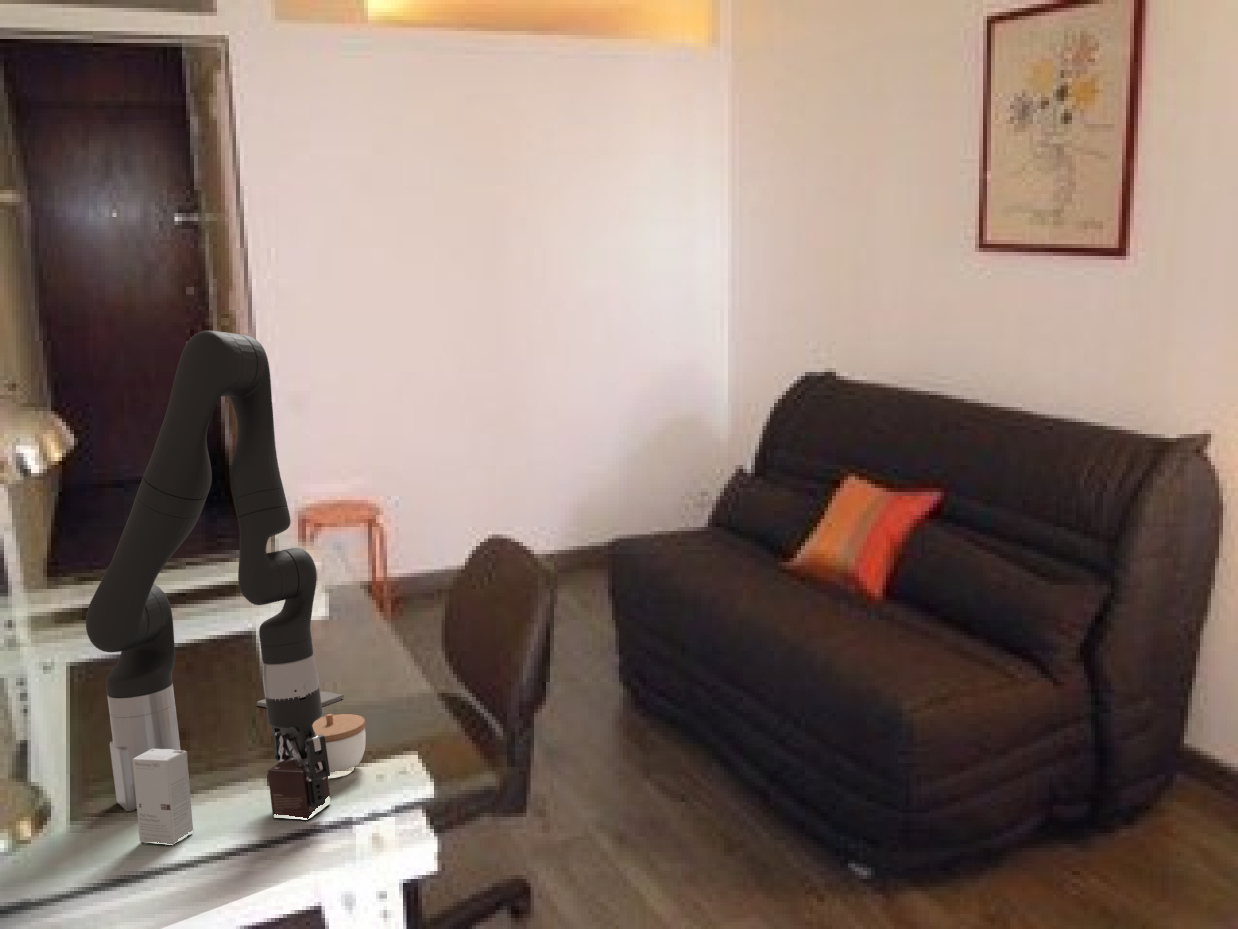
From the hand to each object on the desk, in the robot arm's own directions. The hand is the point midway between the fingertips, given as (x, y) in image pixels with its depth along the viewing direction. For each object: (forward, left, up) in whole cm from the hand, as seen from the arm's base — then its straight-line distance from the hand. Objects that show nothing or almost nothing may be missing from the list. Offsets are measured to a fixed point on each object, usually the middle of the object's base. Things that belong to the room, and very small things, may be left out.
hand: (305, 798), depth 154 cm
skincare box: (-18, +6, -2) cm, 19 cm away
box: (-1, 0, -2) cm, 2 cm away
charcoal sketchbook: (+21, +54, -2) cm, 58 cm away
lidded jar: (+9, +11, -2) cm, 15 cm away
